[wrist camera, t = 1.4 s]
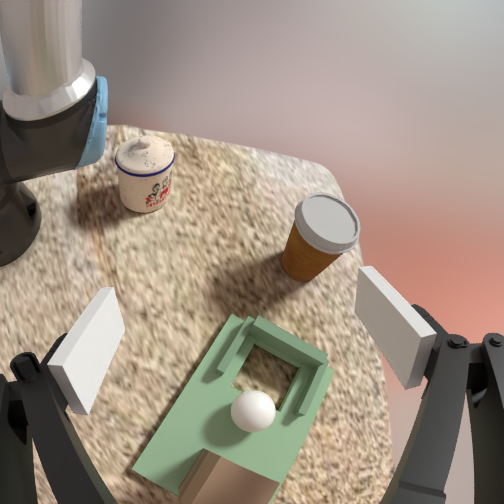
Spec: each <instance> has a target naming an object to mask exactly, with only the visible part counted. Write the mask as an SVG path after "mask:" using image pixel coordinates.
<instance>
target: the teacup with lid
mask: <svg viewBox="0 0 504 504" xmlns="http://www.w3.org/2000/svg"><path fill="white" fill-rule="evenodd" d="M174 157H175V155H174V151H173V148H172V147H171V143H170V142H167V141H165V140H163V139H161V138H159V137H155V136H139V137H135V138H132V139H129V140H127V141H126V142H124V143H123V144H122V145H121V146H120V147H119V149H118V150H117V153H116V156H115V162H116V165H117V169H118V180H119V190H120V198H121V201H122V203H123V204H124V205H125V206H126V207H127V208H129V209H130V210H132V211H135V212H142V213H146V212H152V211H155V210H157V209H159V208H161V207H162V206H164V205H165V204H166V202H167V201H168V199H169V197H170V189H171V175H172V163H173V161H174Z"/></svg>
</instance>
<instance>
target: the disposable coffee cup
mask: <svg viewBox="0 0 504 504" xmlns="http://www.w3.org/2000/svg"><path fill="white" fill-rule="evenodd" d="M359 233H360V223H359V219H358V217H357V215H356V213H355V212H354V210H353V209H352V208H351V207H350V206H349V205H348V204H347V203H346V202H344V201H343V200H342V199H340V198H338V197H336V196H334V195H331V194H327V193H313V194H310V195H309V196H307V197H306V198H304V199H302V200H301V201H300V202H299V203H298V204H297V206H296V209H295V220H294V223H293V226H292V229H291V232H290V235H289V238H288V241H287V244H286V247H285V250H284V253H283V255H282V259H281V262H282V266H283V269H284V270H285V272H286V273H287V274H288V275H289V276H290V277H292V278H293V279H295V280H298V281H310V280H312V279H313V278H315V277H316V276H317V275H318V274H319V273H321V272H322V271H323V270H324V269H325V268H327V267H328V266H329V265H330V264H331V263H332V262H333V261H335V260H336V259H337V258H338V257H339V256H340V255H342V254H343V253H344V252H348V251H349V250H351V249H353V248H354V247H355V245H356V244H357V242H358V239H359Z"/></svg>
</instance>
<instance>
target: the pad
mask: <svg viewBox="0 0 504 504" xmlns="http://www.w3.org/2000/svg"><path fill="white" fill-rule="evenodd" d="M254 344H255V345H257V346H259V347H261V348H263V349H264V350H266V351H268V352H270V353H271V354H273V355H275V356H277V357H279V358H281V359H282V360H284V361H286V362H288V363H290V364H292V365H293V366H295V367H297V368H298V370H297V372H296V375H295V377H294V379H293V381H292V383H291V385H290V387H289V389H288V391H287V393H286V395H285V397H284V399H283V401H282V403H281V405H280V407H279V409H278V411H277V410H276V414H275V418H274V420H273V422H272V424H271V425H270V426H269V427H268V428H266V429H265V430H263V431H260V432H247V431H244V430H242V429H240V428H239V427H237V425H236V424H235V423H234V421H233V420H232V417H231V406H232V403H233V401H234V400H235V399H236V397H237V396H239V395H240V394H241V393H243V392H241V391H239V390H237V389H236V388H234V387H232V386H231V384H232V382H233V380H234V379H235V377H236V375H237V374H238V372H239V370H240V368H241V367H242V365H243V363H244V361H245V360H246V358H247V356H248V354H249V353H250V351H251V349H252V347H253V345H254ZM327 356H328V354H327V353H325V352H323V351H321V350H319V349H318V348H316V347H314V346H312V345H310V344H308V343H307V342H305V341H303V340H301V339H299V338H298V337H296V336H294V335H292V334H290V333H289V332H287V331H285V330H283V329H282V328H280V327H278V326H276V325H275V324H273V323H271V322H269V321H268V320H266V319H264V318H262V317H261V316H259V315H258V317H257V318H256V320H255V319H253V318H252V317H250V316H248V317H247V319H246V321H244V320H242V319H240V318H238V317H237V316H235V315H233V314H231V316H230V317H229V319H228V320H227V322H226V324H225V325H224V327H223V328H222V330H221V332H220V333H219V335H218V336H217V338H216V339H215V341H214V343H213V344H212V346H211V347H210V349H209V350H208V352H207V354H206V355H205V357H204V358H203V360H202V361H201V363H200V365H199V366H198V368H197V369H196V371H195V372H194V374H193V376H192V377H191V379H190V380H189V382H188V383H187V385H186V386H185V388H184V390H183V391H182V393H181V394H180V396H179V397H178V399H177V400H176V402H175V404H174V405H173V407H172V408H171V410H170V411H169V413H168V414H167V416H166V417H165V419H164V420H163V422H162V424H161V425H160V427H159V428H158V430H157V431H156V433H155V434H154V436H153V437H152V439H151V440H150V442H149V443H148V445H147V446H146V448H145V450H144V451H143V453H142V454H141V456H140V457H139V459H138V460H137V462H136V463H135V465H134V466H133V468H132V470H134V471H135V472H137V473H139V474H140V475H142V476H143V477H145V478H147V479H148V480H150V481H152V482H153V483H155V484H157V485H159V486H160V487H162V488H164V489H166V490H168V491H170V492H171V493H173V494H175V495H177V496H179V491H178V487H179V486H180V484H181V482H182V481H183V479H184V478H185V476H186V475H187V473H188V472H189V470H190V468H191V467H192V465H193V464H194V462H195V460H196V459H197V457H198V456H199V454H200V452H201V451H202V449H203V448H204V449H206V450H208V451H211V452H213V453H215V454H217V455H219V456H221V457H223V458H225V459H227V460H229V461H231V462H233V463H236V464H238V465H240V466H242V467H244V468H246V469H249V470H251V471H253V472H255V473H258V474H260V475H262V476H265V477H267V478H269V479H272V480H274V481H277V482H279V483H280V484H279V486H278V488H277V489H276V491H275V493H274V495H273V496H272V498H271V500H270V502H269V503H268V504H271V502H272V501H273V499H274V497H275V495H276V494H277V492H278V490H279V488H280V486H281V485H282V483H283V481H284V479H285V477H286V475H287V473H288V472H289V470H290V468H291V466H292V464H293V462H294V460H295V458H296V456H297V454H298V452H299V450H300V448H301V446H302V444H303V442H304V440H305V438H306V436H307V434H308V431H309V429H310V427H311V425H312V423H313V421H314V418H315V416H316V414H317V412H318V409H319V407H320V405H321V403H322V400H323V398H324V396H325V393H326V391H327V389H328V386H329V384H330V381H331V379H332V376H333V374H334V370H332V369H330V368H328V367H327V365H328V363H329V360H327V359H326V358H327Z"/></svg>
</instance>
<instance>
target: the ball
mask: <svg viewBox="0 0 504 504" xmlns="http://www.w3.org/2000/svg"><path fill="white" fill-rule="evenodd" d="M275 414H276V409H275V405H274V402H273V401H272V399H271V398H270V397H269V396H268V395H267V394H265V393H263V392H260V391H255V390H251V391H246V392H243V393H241V394H240V395H239V396H237V397H236V399H235V400H234V401H233V403H232V406H231V417H232V420H233V421H234V423H235V424H236V425H237V427H239V428H240V429H242V430H244V431H247V432H260V431H263V430H265V429H266V428H268V427H269V426H270V425H271V424H272V422H273V420H274V418H275Z"/></svg>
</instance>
